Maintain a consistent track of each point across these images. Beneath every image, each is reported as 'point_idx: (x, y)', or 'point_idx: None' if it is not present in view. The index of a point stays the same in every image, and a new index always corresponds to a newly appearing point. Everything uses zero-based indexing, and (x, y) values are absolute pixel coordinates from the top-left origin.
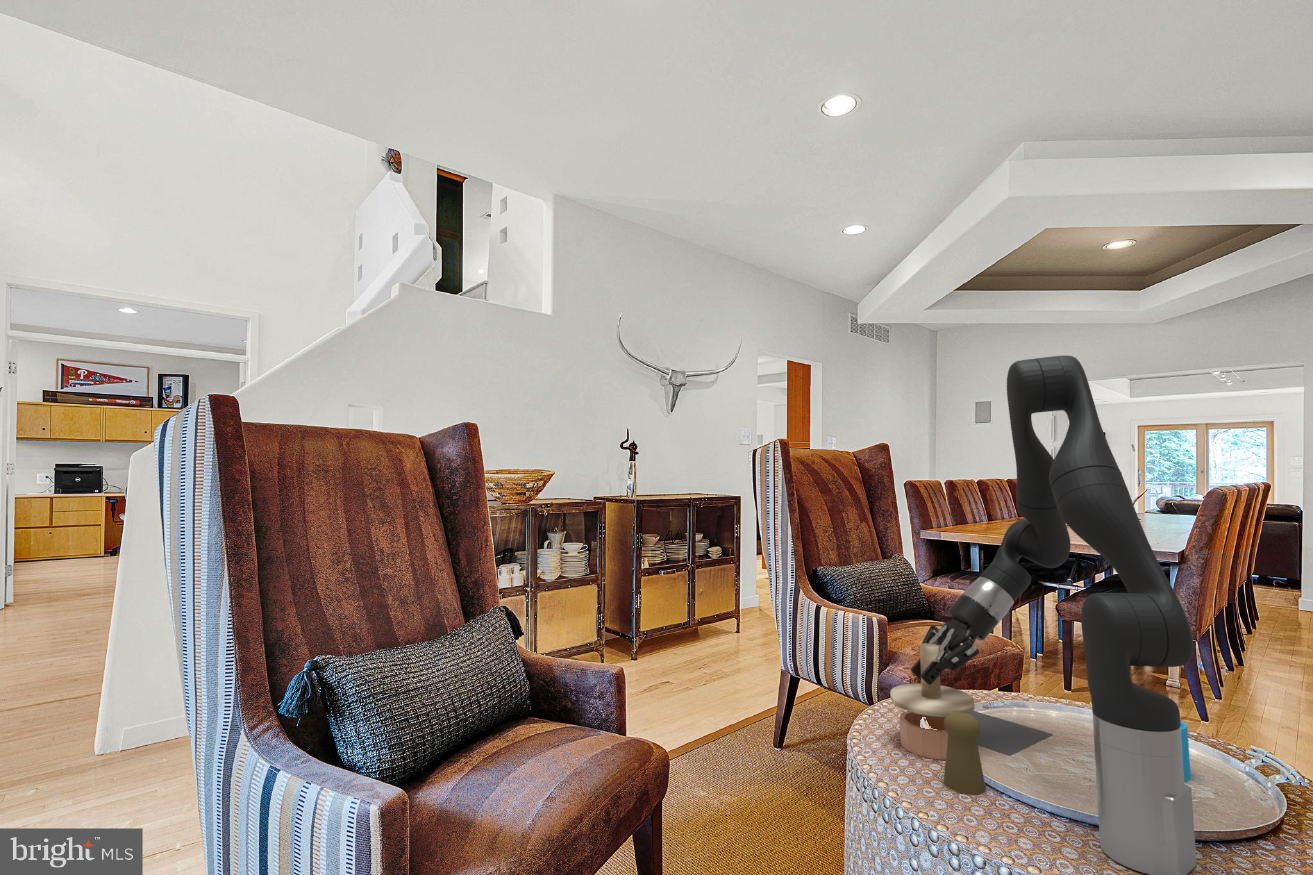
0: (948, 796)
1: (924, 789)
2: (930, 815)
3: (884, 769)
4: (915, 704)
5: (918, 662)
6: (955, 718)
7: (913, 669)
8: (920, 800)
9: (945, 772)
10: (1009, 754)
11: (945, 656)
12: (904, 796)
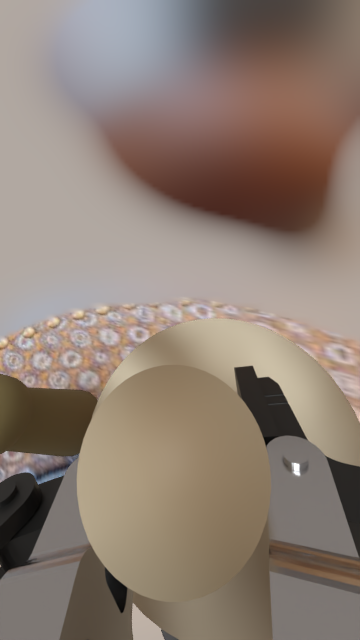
0: (53, 380)
1: (78, 356)
2: (24, 340)
3: (141, 321)
4: (139, 357)
5: (242, 395)
6: None
7: (235, 371)
8: (55, 340)
9: (72, 390)
10: (168, 635)
11: (3, 521)
12: (68, 325)
